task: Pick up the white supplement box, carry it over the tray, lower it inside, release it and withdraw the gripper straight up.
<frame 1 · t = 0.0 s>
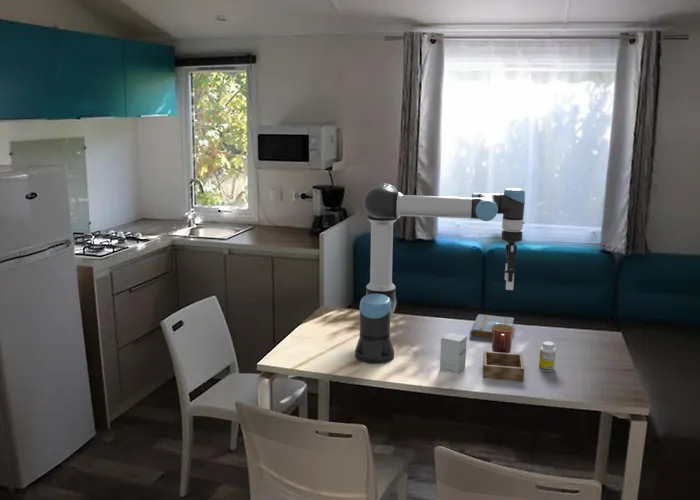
hand: (508, 284, 252), 28 cm above the table, fingers open, 13 cm apart
book: (492, 333, 283), on the table
tray: (502, 372, 241), on the table
mug: (501, 354, 258), on the table
supplement box: (452, 369, 243), on the table
supplement bottle: (546, 369, 244), on the table
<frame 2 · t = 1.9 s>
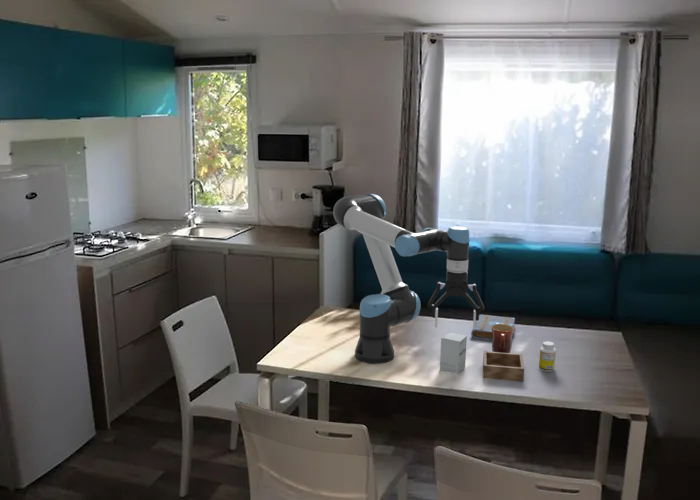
hand: (455, 327, 240), 16 cm above the table, fingers open, 13 cm apart
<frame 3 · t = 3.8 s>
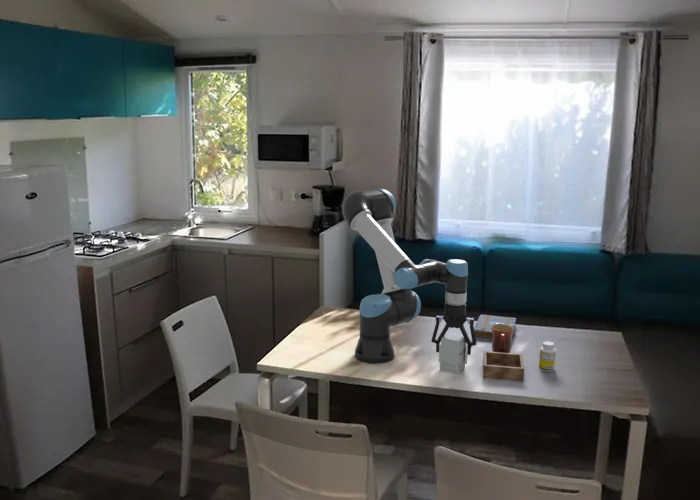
hand: (452, 361, 243), 3 cm above the table, fingers closed on supplement box, 9 cm apart
supplement box: (452, 369, 243), on the table, touching gripper
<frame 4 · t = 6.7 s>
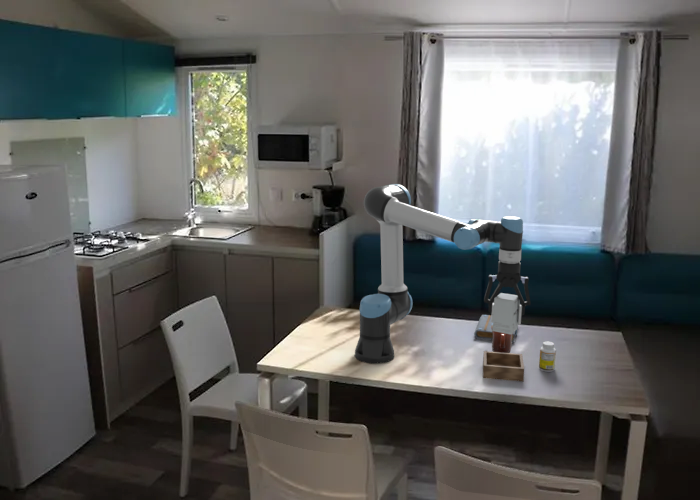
hand: (505, 322, 237), 19 cm above the table, fingers closed on supplement box, 9 cm apart
supplement box: (505, 330, 237), point 16 cm above the table, touching gripper
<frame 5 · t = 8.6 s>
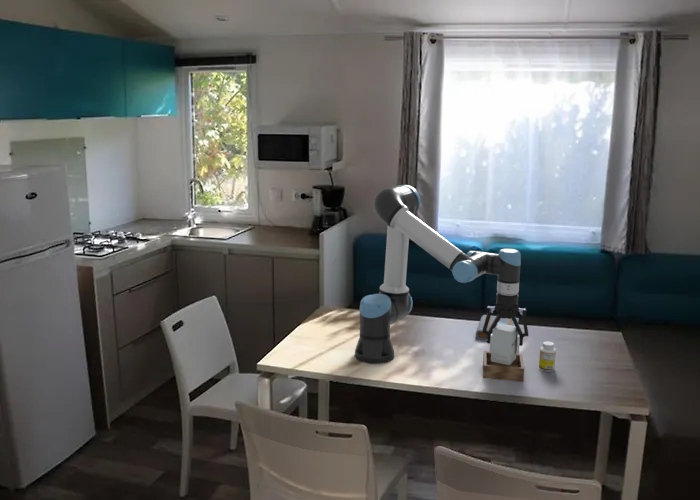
hand: (504, 352, 239), 8 cm above the table, fingers closed on supplement box, 9 cm apart
supplement box: (503, 360, 240), point 4 cm above the table, touching gripper
when the fingers open (6 cm above the table, at t = 9.9 s): supplement box drops 2 cm, resting on tray.
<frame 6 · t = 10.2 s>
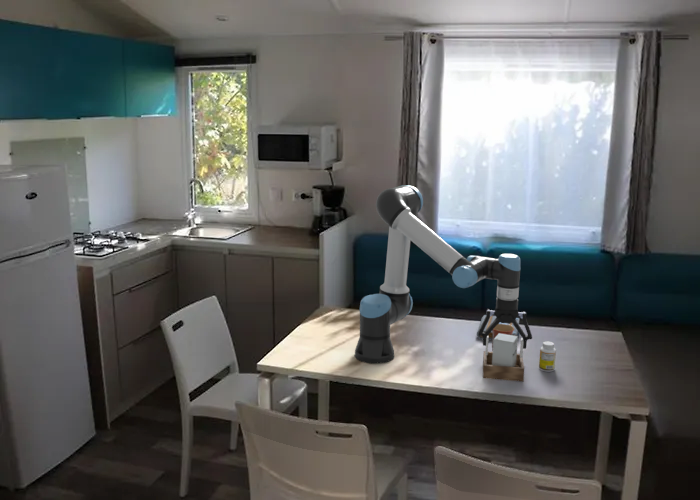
hand: (503, 355, 240), 6 cm above the table, fingers open, 11 cm apart
supplement box: (503, 370, 241), point 1 cm above the table, touching tray
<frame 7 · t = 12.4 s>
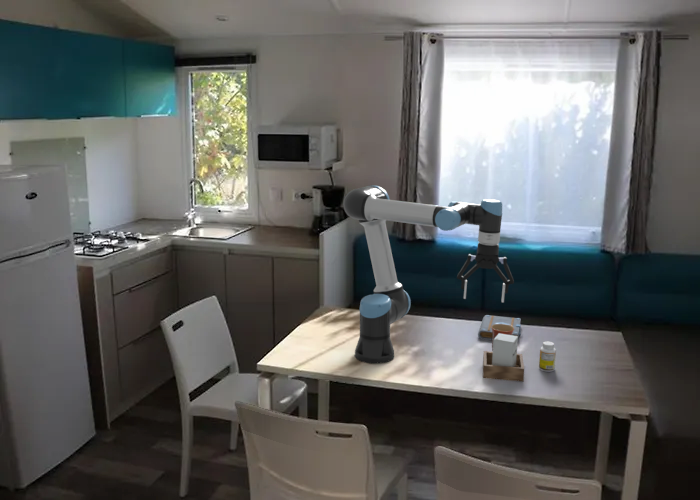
hand: (483, 299, 242), 25 cm above the table, fingers open, 13 cm apart
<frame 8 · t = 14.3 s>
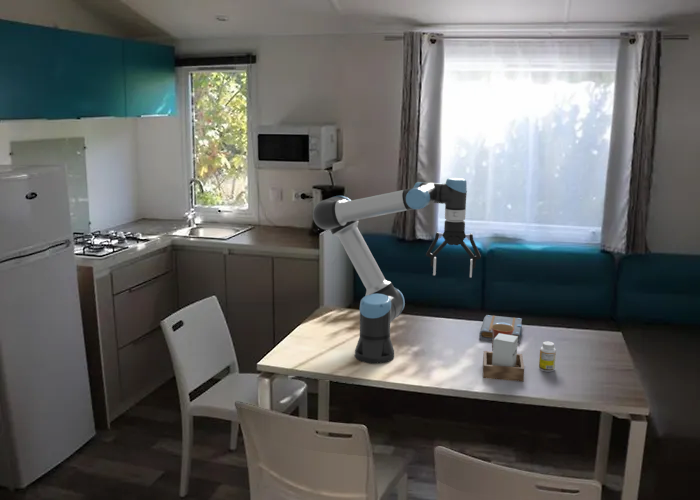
hand: (452, 275, 250), 32 cm above the table, fingers open, 13 cm apart
at the end: supplement box inside the target area on the tray (0.3 cm from its centre), point 0.6 cm above the tray's base; supplement box tilted 0°; the gripper is holding nothing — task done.
